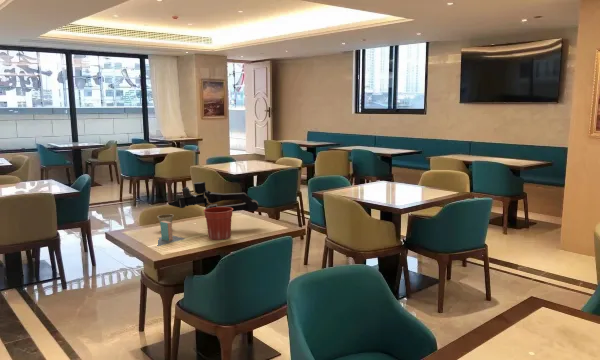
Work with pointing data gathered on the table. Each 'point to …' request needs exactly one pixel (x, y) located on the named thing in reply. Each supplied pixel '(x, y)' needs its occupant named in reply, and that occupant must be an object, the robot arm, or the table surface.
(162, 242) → the mat
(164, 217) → the flower pot
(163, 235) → the salmon rectangular block
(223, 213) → the flower pot
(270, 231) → the table surface
